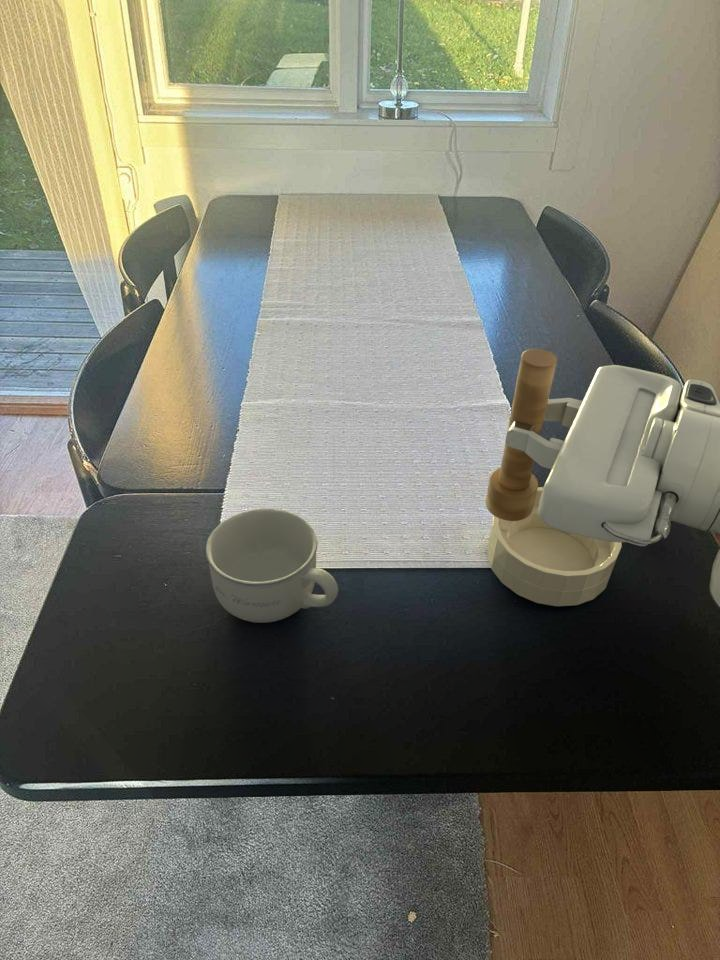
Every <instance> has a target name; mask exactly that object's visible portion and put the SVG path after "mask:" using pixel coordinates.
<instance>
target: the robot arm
mask: <svg viewBox="0 0 720 960" xmlns="http://www.w3.org/2000/svg"><path fill="white" fill-rule="evenodd" d="M543 422H561V426H563V427H566V428H569V430H568V432H567V434H566V436H565V439H564V440H563V439H558V438H555V437H550V439H549V440H548V439H546V438H544V437H543V436H541V435H538V434H536V433H535V432H533V431H532V430H533V426H534V425H530V424H526V423H522V422H519V421H515V422H513V423H512V425H511V427H510V428H509V430H508V429H507V431H508V432H506V438H505V442H506V445H507V446H509V447H511V448H515V449H518V450H521V451H525V453H526V454H527V455H528V456H530V457H531V458H532V459H533V460H534V462H535V463H536V464H537V465H539V466H540V467H542V468H545V469H548V470H550V472H549V474H548V476H547V478H546V480H545V483H544V485H543V486H542V487H543V491H542V495H541V498H540V502H539V507H538V512H537V515H538V517H539V518H540V519H541V520H542V521H543V522H544V523H545V524H546V525H547V526H549V527H551V528H554V529H557V530H561V531H564V532H568V533H572V534H576V535H580V536H585V537H589V538H594V539H599V540H604V541H610V542H622V543H629V544H631V545H635V546H639V547H647V546H649V545H652V544H656V543H657V542H659V541H660V540H661V541H662V540H665V539H666V538H668V536H669V535H670V532H671V528H672V524H671V522H674V523H677V524H681V525H684V526H688V527H689V528H694V529H698V530H700V531H703V532H707V533H715V534H719V535H720V401H719V398H718V397H717V394H716V391H715V389H714V387H713V386H712V384H710V383H709V382H706V381H703V380H699V379H687V380H686V381H685V383H684V385H683V386H682V384H681V383H680V382H679V381H678V380H676V379H675V378H673V377H671V376H667V375H664V374H660V373H657V372H653V371H649V370H643V369H641V368H635V367H630V366H625V365H619V364H609V365H602V366H598V368H597V369H596V371H595V373H594V376H593V378H592V380H591V382H590V384H589V386H588V389H587V391H586V392H585V394H584V397H583V399H581V400H580V399H576V398H572V397H562V398H561V397H560V398H551V399H548V404H547V408H546V412H545V417H544V421H543ZM708 588H709V594H710V597H711V599H712V602H713V603H714V605H715V607H716V609H717V611H718V612H719V613H720V547H719V549H718V550H717V553H716V554H715V558H714V560H713V563H712V567H711V573H710V581H709V586H708Z"/></svg>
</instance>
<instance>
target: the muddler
mask: <svg viewBox="0 0 720 960" xmlns="http://www.w3.org/2000/svg"><path fill="white" fill-rule="evenodd" d="M557 364H558V358H557V356H556V355H555V354H554V353H553V352H551V351H549V350H546V349H541V348H531V349H526V350H525V351H523V352H522V354H521V356H520V362H519V367H518V372H517V377H516V383H515V389H514V394H513V400H512V405H511V409H510V415H509V421H508V426H507V432H508V430H509V428H510V427H511V425H512V423H513V422H515V421H519V422H522V423H526V424H530V425H534V426H533V430H532V431H533V432H535V433H536V434H538V435H540V436H541V434H542V430H543V426H544V422H545V421H544V417H545V412H546V408H547V404H548V400H549V398H550V395H551V391H552V385H553V380H554V377H555V372H556V368H557ZM507 432H506V433H507ZM534 465H535V461H534V460H533V459H532V458H531V457H530V456H528V455H527V454H526V453H525V451H521V450H518V449H515V448H511V447H509V446H507V445H506V441H505V442H504V448H503V453H502V458H501V463H500V467H497V468H496V469H494V470H493V471H492V472H491V473H490V475H489V480H488V486H487V491H486V497H485V506H486V509H487V510H488V511H489V513H490V514H492V516H496V517H498V518H500V519H503V520H507V521H519V520H523V519H525V518H527V517H528V516H529V515H530V514H531V512H532V510H533V505H534V501H535V497H536V493H537V489H538V487H539V481H538V478H537V477H536V476H535V475H534V473H533V470H534Z"/></svg>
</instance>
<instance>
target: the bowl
mask: <svg viewBox="0 0 720 960" xmlns="http://www.w3.org/2000/svg"><path fill="white" fill-rule="evenodd" d="M543 487H544V486H538V489H537V493H536V497H535V501H534V505H533V510H532V512H531V514H530V515H529V516H528V517H527V518H525V519H523V520H519V521H507V520H503V519H500V518H498V517H496V516H494V515H492V516H493V517H492V521H491V528H490V532H489V538H488V543H487V551H486V557H487V559H488V562H489V565H490V568H491V571H492V572H493V574H494V575H495V576H496V578H497V579H498V580H499V581H500V583H502V584H503V585H504V586H505V587H507V588H508V589H510V591H512V592H514V594H516V595H518V596H519V597H522V598H524V599H526V600H529V601H532V602H534V603H536V604H541V605H546V606H553V607H569V606H570V607H571V606H579V605H582V604H584V603H586V602H590V601H592V600H594V599H596V598H597V596H599V595H600V594H601V593H603V592H604V591H605V590H606V588H607V586H608V583H609V581H610V579H611V576H612V573H613V571H614V569H615V565H616V563H617V560H618V557H619V555H620V552H621V550H622V547H623V545H622V543H623V542H610V541H604V540H599V539H594V538H589V537H585V536H580V535H576V534H572V533H568V532H564V531H561V530H557V529H554V528H551V527H549V526H547V525H546V524H545V523H544V522H543V521H542V520H541V519H540V518H539V517H538V515H537V512H538V507H539V502H540V498H541V495H542V491H543Z"/></svg>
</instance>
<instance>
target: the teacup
mask: <svg viewBox="0 0 720 960" xmlns="http://www.w3.org/2000/svg"><path fill="white" fill-rule="evenodd" d="M317 550H318V537H317V534H316V532H315V530H314V528H313V527H312V526H311V525H310V523H308V522H307V521H306V520H305V519H304V518H302V517H301V516H299V515H297V514H295V513H293V512H290V511H286V510H283V509H277V508H257V509H251V510H246V511H243V512H240V513H239V512H238V513H237V514H234V515H232V516H230V517H229V518H227V519H225V520H223V521H222V522H220V523H219V524H218V525H217V526H216V527H215V528H214V529H213V530H212V532H211V533H210V534H209V536H208V538H207V541H206V545H205V553H206V554H205V556H206V560H207V562H208V566H209V574H210V579H211V584H212V588H213V591H214V594H215V597H216V599H217V601H218V602H219V603H220V605H221V606H222V608H223V609H224V610H225V611H227V612H228V613H229V614H230V615H232V616H234V617H235V618H237V619H240V620H242V621H246V622H250V623H259V624H261V623H263V624H265V623H274V622H277V621H281V620H284V619H286V618H289V617H290V616H292V615H294V614H296V613H297V612H298V611H299V610H300V609H304V610H308V609H310V608H323V607H328V606H330V605H331V604H333V602H334V601H335V600H336V598H337V597H338V594H339V585H338V583H337V581H336V580H335V579H336V578H334V576H333V575H331V574H330V573H329V572H328V571H326V569H325V570H324V569H323V568H319V567H317ZM315 584H318V585H319V587H321V589H322V590H323V591H324V594H316V593H313V590H314V587H315Z"/></svg>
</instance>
